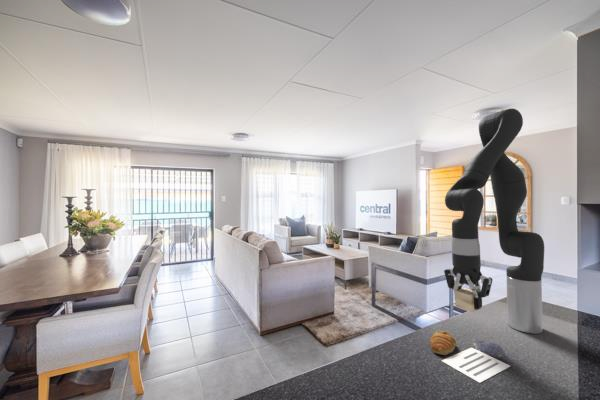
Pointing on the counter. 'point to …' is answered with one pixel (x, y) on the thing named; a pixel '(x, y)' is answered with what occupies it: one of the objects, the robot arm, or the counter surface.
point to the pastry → (442, 343)
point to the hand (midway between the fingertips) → (468, 305)
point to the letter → (475, 364)
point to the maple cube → (465, 299)
